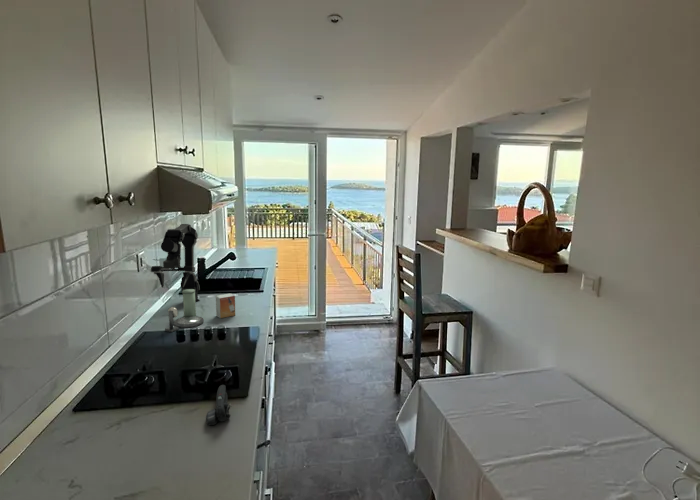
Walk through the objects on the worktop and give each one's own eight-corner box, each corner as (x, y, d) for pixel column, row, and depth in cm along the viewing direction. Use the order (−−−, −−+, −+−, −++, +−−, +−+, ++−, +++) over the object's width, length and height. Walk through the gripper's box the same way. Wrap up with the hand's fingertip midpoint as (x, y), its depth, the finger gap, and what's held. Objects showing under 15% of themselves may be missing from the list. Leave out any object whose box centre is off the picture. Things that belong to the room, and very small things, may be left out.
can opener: (230, 427, 107) (230, 408, 106) (204, 430, 105) (203, 411, 104) (235, 393, 124) (234, 377, 123) (212, 395, 122) (211, 379, 121)
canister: (191, 312, 196) (190, 288, 193) (198, 315, 193) (197, 290, 190) (181, 316, 191) (179, 291, 189) (188, 318, 188) (186, 293, 185)
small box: (220, 318, 188) (219, 298, 187) (216, 315, 193) (215, 295, 191) (235, 315, 193) (235, 295, 192) (231, 312, 198) (230, 292, 196)
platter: (193, 316, 191) (193, 313, 191) (209, 322, 184) (209, 319, 184) (168, 323, 180) (168, 321, 180) (184, 330, 173) (184, 327, 173)
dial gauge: (172, 332, 170) (170, 310, 168) (164, 330, 172) (162, 308, 170) (179, 329, 174) (178, 307, 172) (171, 327, 176) (170, 306, 174)
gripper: (147, 252, 174) (145, 287, 172) (189, 252, 177) (188, 286, 175) (155, 255, 185) (154, 287, 183) (195, 255, 188) (194, 287, 186)
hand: (172, 287), depth 182 cm, fingers open, 9 cm apart
